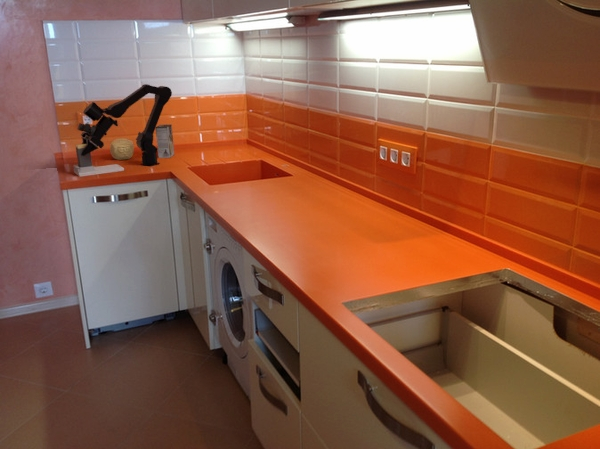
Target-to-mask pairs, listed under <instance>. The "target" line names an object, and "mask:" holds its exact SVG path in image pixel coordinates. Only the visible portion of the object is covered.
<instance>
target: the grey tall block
mask: <svg viewBox="0 0 600 449" xmlns="http://www.w3.org/2000/svg"><path fill="white" fill-rule="evenodd" d="M86 145H87V144H82V143H81V144H75V152H76V159H77V165H78V166H79V167H80V168H81V167H88V166H93V162H92V154H91V153H92V152H90V153H88V154H86V155H84V156H82V155H81V154H82V152H83V150H84V148H85V146H86Z"/></svg>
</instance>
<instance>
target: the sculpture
mask: <svg viewBox="0 0 600 449" xmlns="http://www.w3.org/2000/svg"><path fill="white" fill-rule="evenodd" d="M109 150H110V151H109V152H110V155H111V157H112V158H113V159H115V160H118V161H124V160H130V159H131V158H132V157H133V155H134V152H135V148H134V141H133V140H130V139H128V138H126V137H125V138H122V137H121V138H120V137H119V138H115V139H114V140H113V141H111V143H110V148H109Z"/></svg>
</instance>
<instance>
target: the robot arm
mask: <svg viewBox="0 0 600 449" xmlns="http://www.w3.org/2000/svg"><path fill="white" fill-rule="evenodd" d="M148 94H151V95H154V104H153V106H152V109H151V111H150V114H149V116H148V118H147V122H146V124H145V127H144V129H143V131H142V132H140V131H139V132H137V137H136V138H135V141H136V142H135V143H136V146H137V147H138V148H139V149H140V150H141V165H143V166H147V167H151V166H155V165H159V164H160V162H158V147H156V146H155V144H153V143H154V133H155V131H156V127H157V125H158V122H159V120H160V117H161V115H162V112H163V109H164V106H165V105H166V104H167V103H168V102H169V101H170V99H171V97H172V95H173V92H172V89H171V88H170V87H168V86H165V85H164V86H163V85H160V86H154V85H150V84H147V83H144V84H141V86H140V87H138V89H136V90H134V91H133V92H132V93H130V94H129V95H127V97H125V98H123V99H121V100H118V101H117V102H116V101H115V102H114V103H112V104H110V105H108V106H107V107H105V108H101V107H100V106H99V105H98V104H97V103H96V102H95V101H92V102H91V103H90V104H89V105H87V106H85V108H84V109H83V112H82V113H83V114H84V115H85V116H87V117H88V118H89V119H90V120H92V121H93V122H95V121H96V124H93V125H92V126H91V124H90V123H85V124H84V123H81V122H79V123H78V125H77V126H78V127H77V130H78V131H81V132H82V133H80V136H81V140H82V143H81V144H87V145H86V146H85V148H84V150H83V152H82V154H81V155H82V156H84V155H86V154H88V153H92V152H94V151H96V150H98V149H99V148H100V149H102V148H103V147H104V146H105V144H104V142H103V141H102V139H103V138H104V136H105V137H106V136H107V135H108V133H107V132H108V131H109V130H110V129H111V128H112V126H115V127H118V126H119V124H118V120H117V119H119V118H122V116H124V114H126V112H127V111H128V109H129V108H130V107H131V106H133V105H134V104H136V103H137V102H139V101H140V100H141V99H143V98H144V97H145V96H147V95H148ZM107 115H108V116H107ZM113 118H114V119H113Z"/></svg>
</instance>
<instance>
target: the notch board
mask: <svg viewBox="0 0 600 449" xmlns="http://www.w3.org/2000/svg"><path fill="white" fill-rule="evenodd" d="M123 171H125V168H124V167H122V166H121V165H119V164H117V163H116V164H108V165H100V166H95V165H92V166H88V167H81V168H80V167H79V166H78V164H73V173H75V174H76V176H78V177H80V178H81V177H86V176H87V177H88V176H94V175H100V174H109V173H110V174H111V173H117V172H123Z"/></svg>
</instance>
